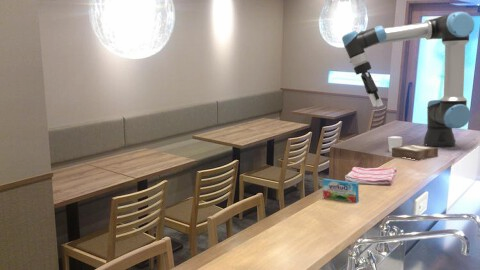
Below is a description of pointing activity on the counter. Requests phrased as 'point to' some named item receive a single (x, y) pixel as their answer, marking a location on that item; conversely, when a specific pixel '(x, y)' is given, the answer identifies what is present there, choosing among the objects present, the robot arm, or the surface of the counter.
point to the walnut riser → (415, 152)
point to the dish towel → (372, 176)
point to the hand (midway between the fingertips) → (378, 106)
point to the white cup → (394, 142)
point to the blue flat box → (340, 190)
